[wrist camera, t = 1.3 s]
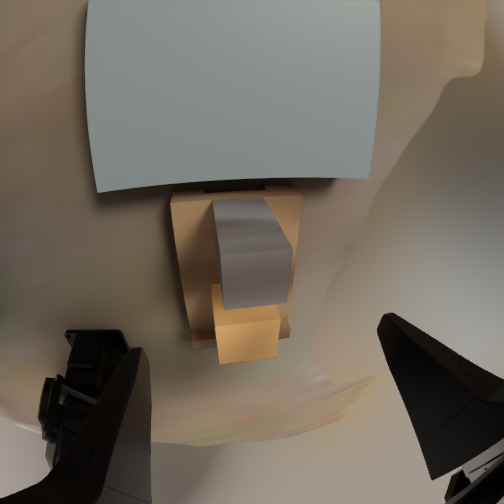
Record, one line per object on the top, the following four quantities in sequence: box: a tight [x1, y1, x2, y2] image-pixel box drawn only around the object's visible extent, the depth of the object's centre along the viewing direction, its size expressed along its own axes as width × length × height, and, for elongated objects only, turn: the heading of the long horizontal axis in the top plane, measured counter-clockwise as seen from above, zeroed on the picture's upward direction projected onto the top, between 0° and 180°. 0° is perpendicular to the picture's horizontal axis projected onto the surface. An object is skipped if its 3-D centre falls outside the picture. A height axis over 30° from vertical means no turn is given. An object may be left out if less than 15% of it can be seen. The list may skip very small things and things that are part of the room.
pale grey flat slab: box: [85, 0, 380, 193], centre depth 12 cm, size 14×16×3 cm
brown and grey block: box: [170, 185, 302, 349], centre depth 18 cm, size 12×8×8 cm, turn 179°
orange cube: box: [211, 284, 281, 364], centre depth 19 cm, size 4×4×4 cm
